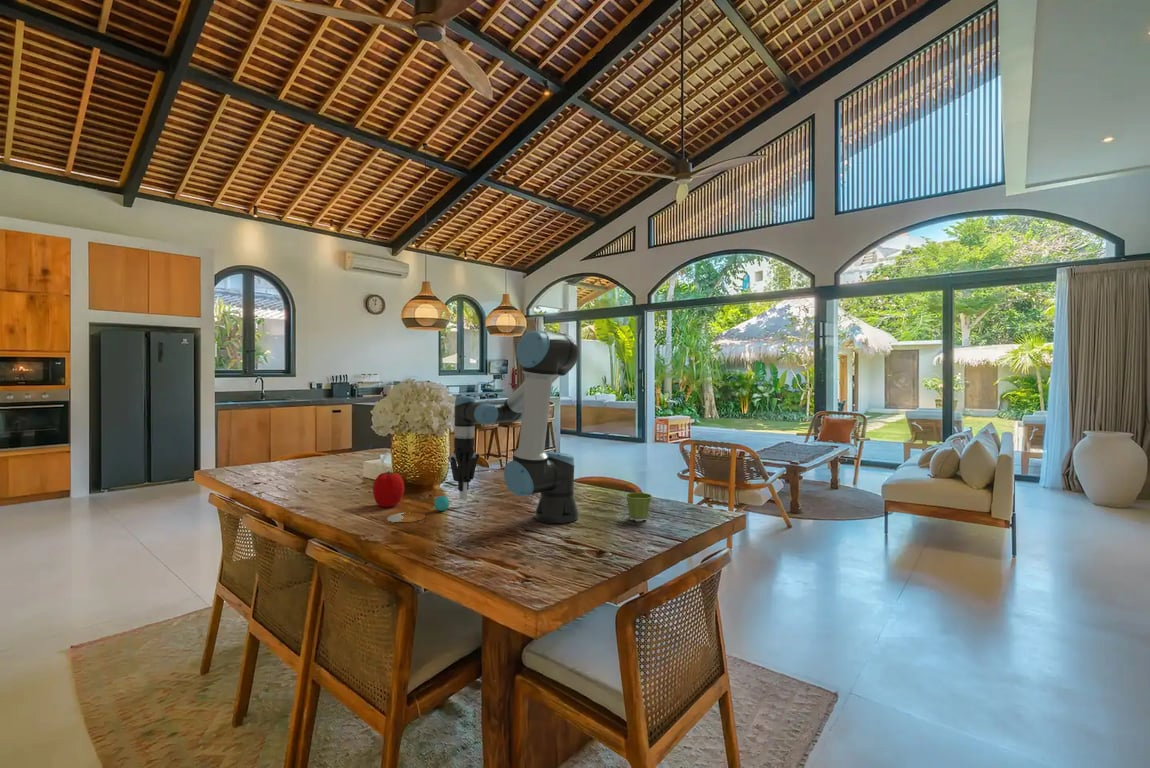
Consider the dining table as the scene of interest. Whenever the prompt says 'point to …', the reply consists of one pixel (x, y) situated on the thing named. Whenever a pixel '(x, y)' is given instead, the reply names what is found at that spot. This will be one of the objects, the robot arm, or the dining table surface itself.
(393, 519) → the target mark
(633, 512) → the plant pot
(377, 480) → the tomato
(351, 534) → the dining table surface
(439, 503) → the ball
